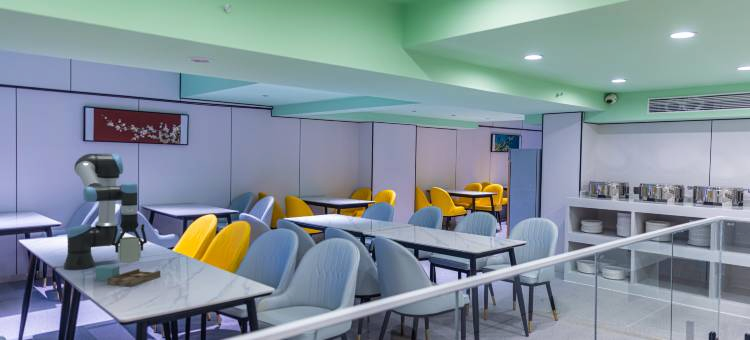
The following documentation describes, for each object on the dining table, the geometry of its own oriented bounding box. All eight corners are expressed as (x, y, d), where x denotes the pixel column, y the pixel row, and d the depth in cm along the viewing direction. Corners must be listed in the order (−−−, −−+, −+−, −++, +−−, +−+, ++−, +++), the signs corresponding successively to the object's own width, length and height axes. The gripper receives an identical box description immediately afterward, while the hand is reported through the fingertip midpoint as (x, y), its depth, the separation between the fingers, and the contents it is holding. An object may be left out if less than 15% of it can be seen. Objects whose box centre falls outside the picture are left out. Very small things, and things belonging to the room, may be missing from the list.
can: (143, 260, 268) (143, 236, 267) (129, 263, 259) (129, 239, 259) (129, 258, 271) (129, 235, 270) (115, 261, 262) (114, 238, 262)
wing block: (95, 280, 268) (95, 267, 268) (103, 278, 273) (103, 265, 273) (112, 282, 266) (112, 268, 265) (119, 280, 270) (119, 266, 270)
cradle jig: (107, 284, 260) (107, 278, 260) (137, 274, 282) (137, 268, 282) (131, 286, 257) (131, 280, 257) (160, 276, 278) (160, 270, 278)
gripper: (105, 215, 255) (105, 261, 256) (153, 213, 266) (153, 257, 267) (104, 213, 262) (104, 258, 263) (151, 211, 273) (151, 255, 274)
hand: (129, 258), depth 265 cm, fingers closed on can, 9 cm apart
